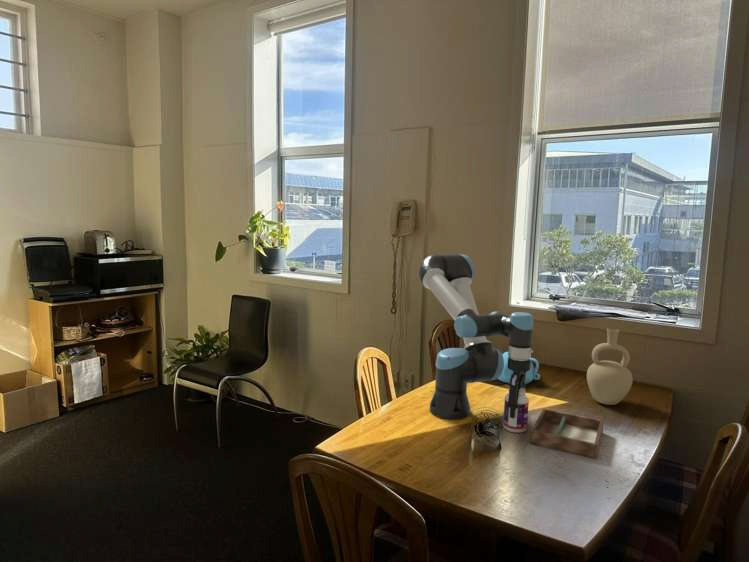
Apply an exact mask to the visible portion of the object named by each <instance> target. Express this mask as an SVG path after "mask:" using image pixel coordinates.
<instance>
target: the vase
mask: <svg viewBox="0 0 749 562" xmlns="http://www.w3.org/2000/svg"><path fill="white" fill-rule="evenodd" d="M620 331H621V330H620V329H619V328H618V329H617V328H611V327H610V328H609V327H607V328H606V333H607V342H602V343H599V344H597V345H595V346H594V347H593V349H592V352H591V359H592V361H593V363H591V365H589V367H588V369H587V371H586V380H587V386H588V388H589V391H590V393H591V396H592V398H593V399H594V400H595V402H598V403H600V404H602V405H607V406H614V405H617V404H619V403H621V401H622V400H624V398H625V397H626V396H627V394H628V393H629V391H630V390H631V388H632V386H633V383H634V382H633V380H634V379H633V374H632V372H631V370H629V368H628V365H629V364H630V358H631V354H630V353H629V351H628V349H626V347H624V346H622V345H620V344H618V336H619V333H620ZM604 350H614V351H619V352H620V353H622V359H621V361H620V362H617V361H614V360H607V359H606V360H600V359H599V353H600V352H601V351H604Z"/></svg>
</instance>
